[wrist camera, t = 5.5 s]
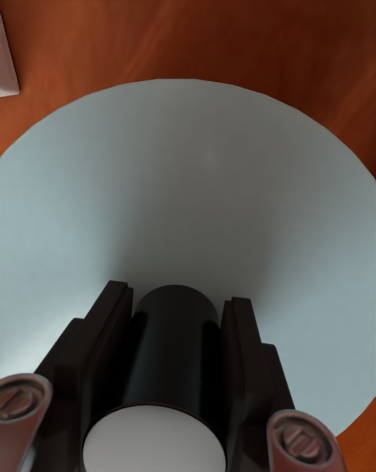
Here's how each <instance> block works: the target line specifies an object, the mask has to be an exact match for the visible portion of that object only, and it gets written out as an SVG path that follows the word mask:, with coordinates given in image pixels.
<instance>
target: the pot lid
mask: <svg viewBox="0 0 376 472" xmlns="http://www.w3.org/2000/svg"><path fill="white" fill-rule="evenodd" d="M109 280H113V281H121V282H127V283H128V287H131V288H133V290H134V292H133V306H132V319H131V322H130V324H129V327H128V329H127V332H126V334H125V337H124V339H123V342H122V344H121V347H120V349H119V352H118V354H117V357H116V359H115V362H114V364H113V367H112V369H111V371H110V374H109V376H108V379H107V381H106V384H105V386H104V389H103V391H102V394H101V396H100V399H99V401H98V404H97V406H96V409H95V411H94V414H93V416H92V419H91V421H90V424H89V426H88V429H87V431H86V434H85V436H84V439H83V443H82V461H83V464H84V468H85V470H86V472H227V468H228V454H227V439H226V425H225V409H224V392H223V376H222V360H221V344H220V325H221V319H222V314H223V308H224V302H225V300H229V301H231V299H232V296H234V297H241V298H249V299H251V303H252V307H253V311H254V315H255V318H256V322H257V326H258V330H259V334H260V338H261V342H262V343H268V344H274V345H275V347H276V349H277V352H278V355H279V358H280V362H281V365H282V368H283V371H284V374H285V377H286V381H287V384H288V387H289V390H290V393H291V396H292V400H293V403H294V406H295V409H296V410H299V411H302V412H305V413H308V414H310V415H311V416H313V417H315V418H317V419H318V420H319V421H321V422H322V423H323V424H324V425H326V426H327V427H328V429H329V430H330V431H331V432H332V433H333V435H334V436H335V437H336V436H337V435H339V434H340V433H341V432H343V431H344V430H345V429H346V428H347V427H348V426H349V425H350V424H351V423H352V422H353V421H354V420H355V419H356V418H357V417H358V416H359V415H360V414H361V413H362V412H363V411H364V410H365V409H366V408H367V406H368V405H369V404H370V402H371V401H372V400H373V398H374V397H375V396H376V180H375V178H374V177H373V175H372V174H371V173H370V172H369V171H368V169H367V168H366V167H365V166H364V164H363V163H362V162H361V161H360V160H359V158H358V157H357V156H356V155H355V154H354V152H353V151H352V150H350V149H349V148H348V147H347V146H346V145H345V144H344V143H343V142H341V141H340V140H339V139H338V138H337V137H336V136H335V135H334V134H332V133H331V132H330V131H329V130H328V129H327V128H325V127H324V126H322V125H321V124H319V123H318V122H316V121H314V120H313V119H311V118H310V117H308V116H307V115H305V114H304V113H302V112H301V111H299V110H298V109H295V108H293V107H291V106H289V105H287V104H285V103H282V102H280V101H278V100H276V99H274V98H272V97H270V96H267V95H265V94H262V93H258V92H255V91H252V90H248V89H245V88H242V87H238V86H235V85H232V84H226V83H219V82H212V81H205V80H199V79H153V80H146V81H139V82H132V83H125V84H121V85H117V86H114V87H110V88H107V89H104V90H100V91H97V92H94V93H90V94H88V95H86V96H83V97H81V98H79V99H77V100H75V101H73V102H71V103H69V104H66V105H64V106H62V107H60V108H58V109H57V110H55V111H54V112H52V113H51V114H49V115H48V116H46V117H45V118H43V119H42V120H40V121H39V122H37V123H36V124H34V125H33V126H31V127H30V128H29V129H28V130H27V131H26V132H25V133H24V134H23V135H21V136H20V137H19V138H18V139H17V140H16V141H15V142H14V143H13V144H12V145H11V146H9V147H8V149H7V150H6V151H5V152H4V154H3V155H2V156H1V157H0V379H1V378H3V377H6V376H9V375H13V374H18V373H34V371H35V370H36V369H37V367H38V366H39V364H40V363H41V362H42V360H43V359H44V357H45V356H46V355H47V353H48V352H49V351H50V349H51V348H52V346H53V345H54V344H55V342H56V341H57V339H58V338H59V337H60V335H61V334H62V332H63V331H64V330H65V328H66V327H67V325H68V324H69V323H70V321H71V320H72V319H73V318H83V319H84V318H85V316H86V315H87V313H88V312H89V310H90V309H91V307H92V306H93V304H94V303H95V301H96V300H97V298H98V296H99V295H100V293H101V292H102V290H103V289H104V287H105V286H106V284H107V283H108V281H109Z"/></svg>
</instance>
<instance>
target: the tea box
mask: <svg viewBox="0 0 376 472" xmlns="http://www.w3.org/2000/svg"><path fill="white" fill-rule="evenodd" d="M19 93H20V91H19V86H18V81H17V77H16V73H15V69H14V65H13V61H12V57H11V54H10V50H9V46H8V42H7V38H6V34H5V30H4V26H3V22H2V18H1V14H0V97H3V96H10V95H17V94H19Z"/></svg>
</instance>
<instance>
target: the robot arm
mask: <svg viewBox="0 0 376 472" xmlns="http://www.w3.org/2000/svg"><path fill="white" fill-rule="evenodd" d="M133 292H134V290H133V288H131V287H128V283H127V282H121V281H113V280H109V281H108V283H107V284H106V286H105V287H104V289H103V290H102V292H101V293H100V295H99V296H98V298H97V300H96V301H95V303H94V304H93V306H92V307H91V309H90V310H89V312H88V313H87V315H86V316H85V318H84V319H83V318H73V319H72V320H71V321H70V323H69V324H68V325H67V327H66V328H65V330H64V331H63V332H62V334H61V335H60V337H59V338H58V339H57V341H56V342H55V344H54V345H53V346H52V348H51V349H50V351H49V352H48V353H47V355H46V356H45V357H44V359H43V360H42V362H41V363H40V364H39V366H38V367H37V369H36V370H35V371H34V373H18V374H13V375H9V376H6V377H3V378H1V379H0V472H86V470H85V468H84V464H83V461H82V443H83V439H84V436H85V434H86V431H87V429H88V426H89V424H90V421H91V419H92V416H93V414H94V411H95V409H96V406H97V404H98V401H99V399H100V396H101V394H102V391H103V389H104V386H105V384H106V381H107V379H108V376H109V374H110V371H111V369H112V367H113V364H114V362H115V359H116V357H117V354H118V352H119V349H120V347H121V344H122V342H123V339H124V337H125V334H126V332H127V329H128V327H129V324H130V322H131V319H132V306H133ZM220 344H221V360H222V376H223V392H224V409H225V425H226V439H227V454H228V468H227V472H348V471H347V468H346V465H345V462H344V459H343V456H342V453H341V450H340V447H339V444H338V442H337V440H336V438H335V436H334V435H333V433H332V432H331V431H330V430H329V429H328V427H327V426H326V425H324V424H323V423H322V422H321V421H319V420H318V419H317V418H315V417H313V416H311V415H310V414H308V413H305V412H302V411H299V410H296V409H295V406H294V403H293V400H292V396H291V393H290V390H289V387H288V384H287V381H286V377H285V374H284V371H283V368H282V365H281V362H280V358H279V355H278V352H277V349H276V347H275V345H274V344H268V343H262V342H261V338H260V334H259V330H258V326H257V322H256V318H255V315H254V311H253V307H252V303H251V299H249V298H241V297H234V296H232V299H231V301H229V300H225V302H224V308H223V314H222V319H221V325H220Z"/></svg>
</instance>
